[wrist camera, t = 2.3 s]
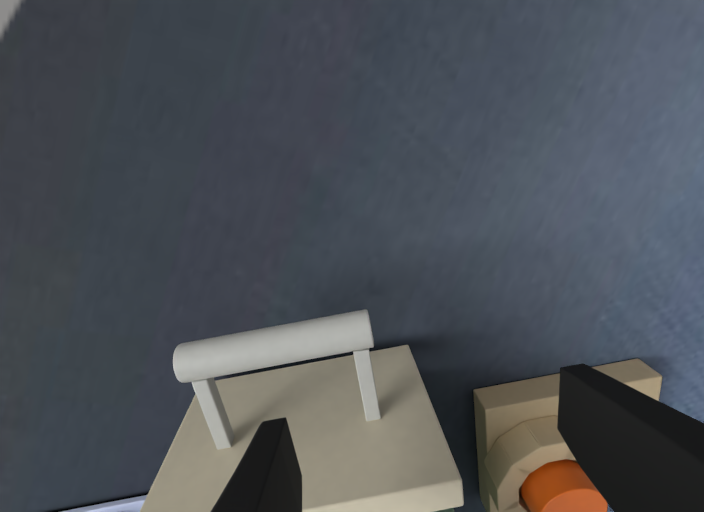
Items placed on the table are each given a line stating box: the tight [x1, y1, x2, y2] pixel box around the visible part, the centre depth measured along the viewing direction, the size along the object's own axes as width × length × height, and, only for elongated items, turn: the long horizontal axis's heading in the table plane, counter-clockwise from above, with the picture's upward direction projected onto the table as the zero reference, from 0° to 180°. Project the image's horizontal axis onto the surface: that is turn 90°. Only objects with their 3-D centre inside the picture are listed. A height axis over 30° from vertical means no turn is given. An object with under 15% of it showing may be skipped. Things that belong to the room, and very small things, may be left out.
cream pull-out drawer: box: [140, 309, 464, 512], centre depth 17 cm, size 18×11×8 cm, turn 9°
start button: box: [521, 459, 608, 512], centre depth 19 cm, size 4×4×2 cm
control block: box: [473, 359, 662, 512], centre depth 21 cm, size 10×9×4 cm
